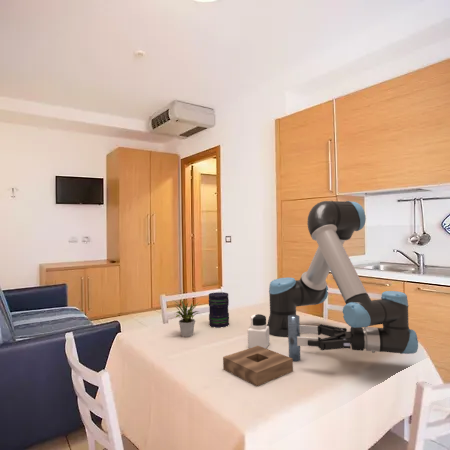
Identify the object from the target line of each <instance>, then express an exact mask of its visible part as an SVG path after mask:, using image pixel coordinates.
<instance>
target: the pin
mask: <svg viewBox="0 0 450 450" xmlns="http://www.w3.org/2000/svg"><path fill="white" fill-rule="evenodd" d="M300 321H301V319H300V315H298V314H296V315H289V316H288V336H287V337H288V357H290V358H293V362H300V361H301V346H297V337H301V333H300V325H301V324H300V323H301V322H300Z"/></svg>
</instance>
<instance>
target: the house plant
mask: <svg viewBox="0 0 450 450" xmlns="http://www.w3.org/2000/svg"><path fill="white" fill-rule="evenodd" d="M172 301H174V302H175V303H174V305H175V306H174V307H175V308H176V309H177V310H178V311H176V312H175V315H176V316H175V318H178V317H179V318H180V319H179V321H178V324H179V329H180V335H181V336H182V337H185V338H186V337H187V338H189V337H192V336H193V335H194V329H195V323H196V320H195V319H194V316H196V315H198V314H199V312H200V311H198V310H195V311H194V309H195V308H196V307H197V305H198V304H199V303H201V302H202V300H201V301H199V302H197V303H196V304H193V302H194V301H192V302H191V304H190V306H189V308H188V305H189V302H190V301H187V302H186V304H185V303H184V301H183V300H182V299H180V302H181V305H182V306H181V305H180V303H179V302H178V301H177V300H173V299H172Z"/></svg>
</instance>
